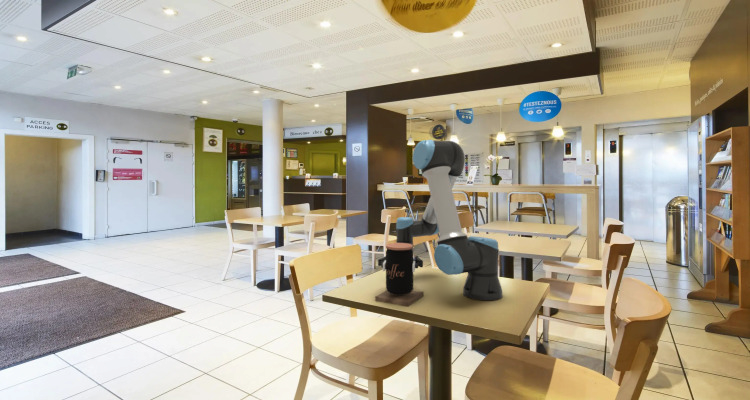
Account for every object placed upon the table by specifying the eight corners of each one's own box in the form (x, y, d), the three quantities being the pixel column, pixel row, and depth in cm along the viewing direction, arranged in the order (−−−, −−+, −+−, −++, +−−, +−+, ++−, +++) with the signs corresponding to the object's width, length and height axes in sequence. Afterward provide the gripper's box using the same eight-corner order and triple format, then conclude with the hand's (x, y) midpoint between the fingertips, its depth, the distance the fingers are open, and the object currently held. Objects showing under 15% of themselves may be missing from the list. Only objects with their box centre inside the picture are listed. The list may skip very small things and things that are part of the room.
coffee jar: (380, 290, 150) (380, 245, 149) (399, 285, 157) (399, 241, 156) (399, 296, 142) (399, 249, 141) (418, 290, 149) (418, 245, 148)
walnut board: (423, 296, 152) (423, 292, 152) (408, 306, 140) (408, 302, 140) (392, 290, 159) (392, 287, 159) (375, 300, 147) (375, 296, 147)
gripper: (429, 265, 165) (429, 278, 144) (376, 263, 169) (368, 276, 147) (429, 247, 165) (429, 259, 143) (376, 246, 168) (368, 257, 146)
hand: (398, 268), depth 145 cm, fingers closed on coffee jar, 11 cm apart
